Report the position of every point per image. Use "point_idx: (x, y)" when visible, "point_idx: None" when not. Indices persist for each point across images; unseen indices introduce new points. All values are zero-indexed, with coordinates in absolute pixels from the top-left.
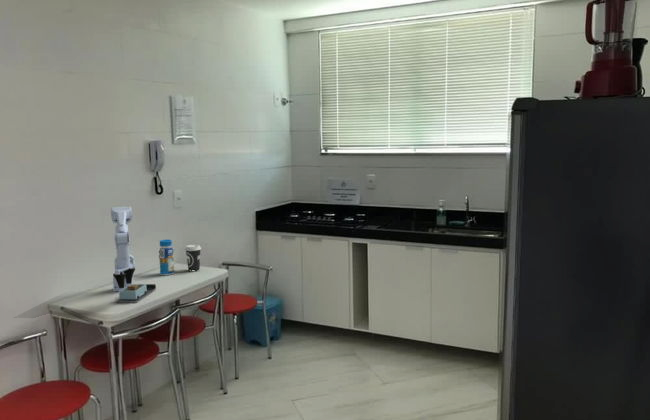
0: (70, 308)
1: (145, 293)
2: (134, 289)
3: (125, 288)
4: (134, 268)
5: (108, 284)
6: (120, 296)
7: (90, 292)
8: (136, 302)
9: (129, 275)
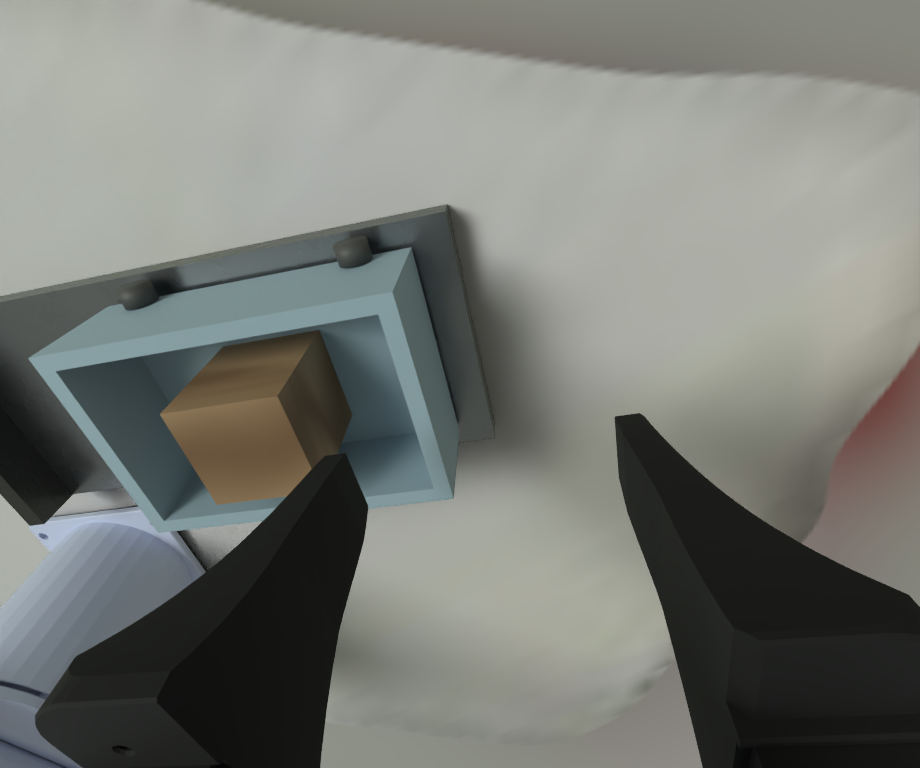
0: None
1: None
2: (293, 378)
3: None
4: (52, 719)
5: None
6: (454, 441)
7: None
8: (446, 208)
9: (292, 598)
